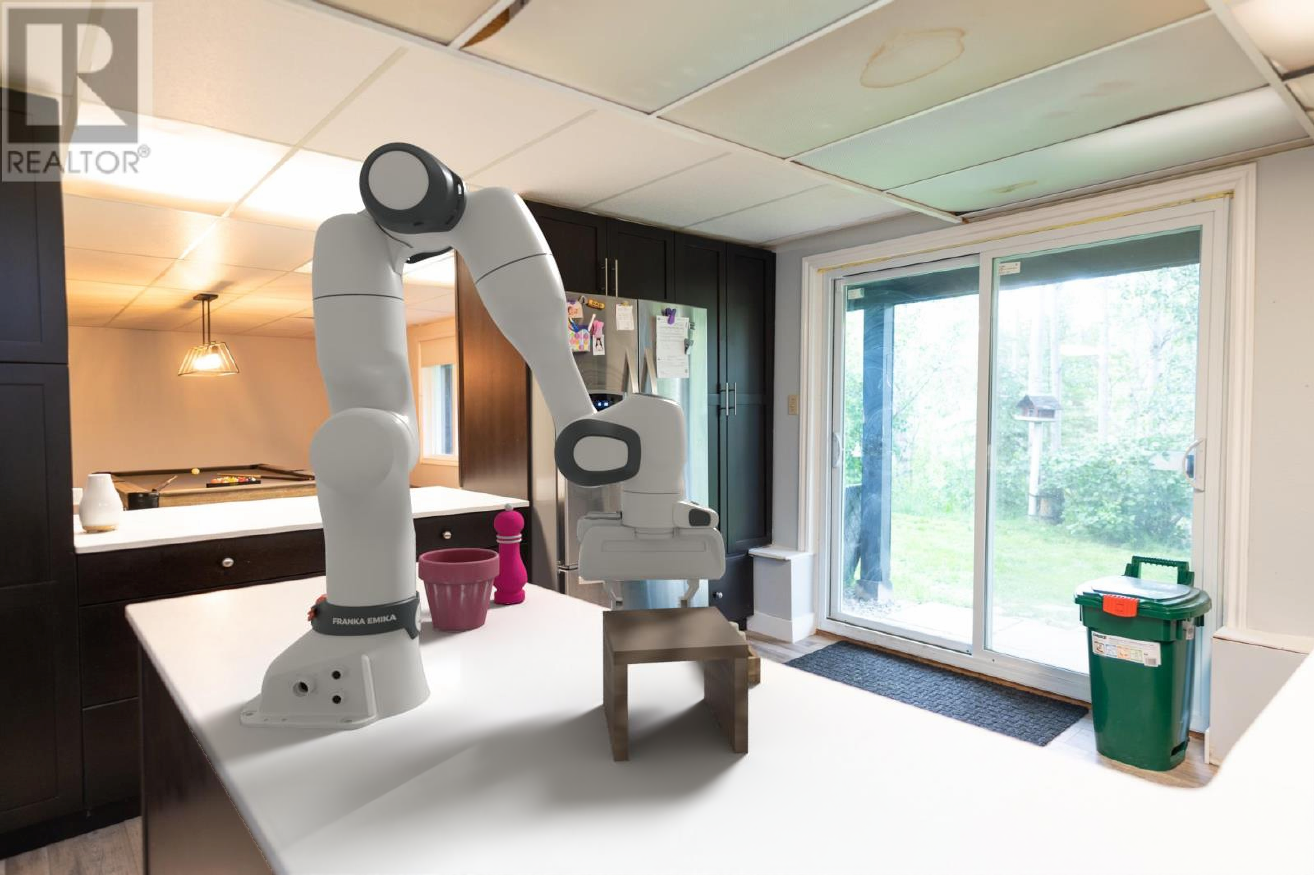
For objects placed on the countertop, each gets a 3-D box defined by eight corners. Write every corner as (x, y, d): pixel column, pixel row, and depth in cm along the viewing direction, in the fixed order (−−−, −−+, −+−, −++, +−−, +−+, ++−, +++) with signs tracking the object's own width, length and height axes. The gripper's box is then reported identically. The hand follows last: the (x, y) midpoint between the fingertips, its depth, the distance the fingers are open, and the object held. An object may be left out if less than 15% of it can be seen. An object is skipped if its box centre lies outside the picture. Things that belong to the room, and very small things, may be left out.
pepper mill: (519, 605, 142) (518, 505, 141) (485, 603, 143) (484, 504, 143) (532, 596, 149) (532, 501, 148) (500, 594, 150) (499, 500, 150)
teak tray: (718, 684, 100) (719, 641, 100) (696, 643, 118) (696, 606, 118) (760, 682, 101) (760, 639, 101) (732, 642, 119) (732, 605, 119)
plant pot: (516, 621, 131) (515, 552, 131) (457, 641, 119) (456, 566, 119) (462, 609, 139) (461, 544, 138) (401, 628, 127) (400, 557, 126)
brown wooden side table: (614, 765, 77) (613, 651, 77) (603, 705, 93) (602, 611, 93) (748, 755, 79) (748, 644, 79) (715, 698, 95) (715, 606, 95)
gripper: (578, 514, 93) (575, 619, 93) (729, 514, 96) (727, 616, 96) (576, 508, 99) (574, 606, 100) (718, 508, 102) (716, 604, 103)
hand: (650, 611), depth 98 cm, fingers open, 8 cm apart
